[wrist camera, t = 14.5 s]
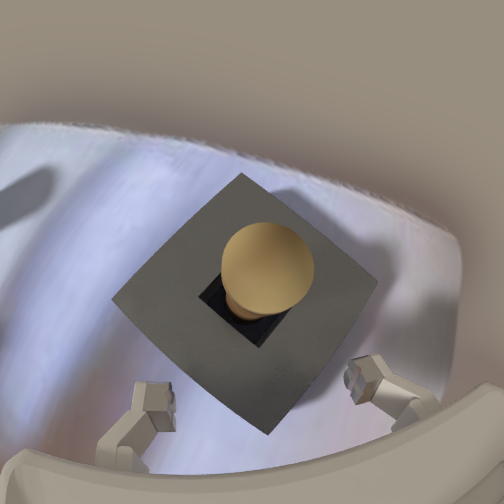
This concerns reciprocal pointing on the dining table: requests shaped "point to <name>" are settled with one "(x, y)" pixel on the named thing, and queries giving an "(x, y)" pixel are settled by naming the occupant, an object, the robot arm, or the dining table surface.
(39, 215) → the dining table surface
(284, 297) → the brass pin
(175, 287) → the hitch block
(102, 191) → the dining table surface
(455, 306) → the dining table surface
